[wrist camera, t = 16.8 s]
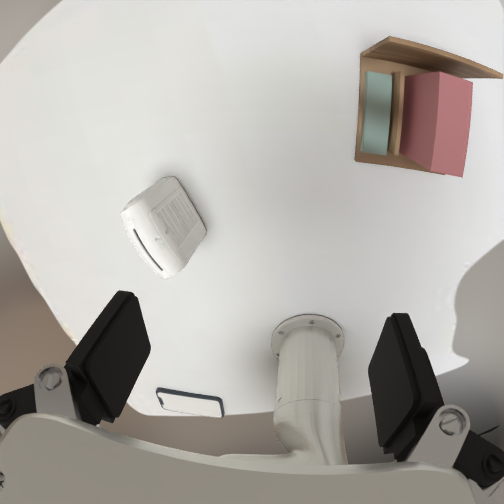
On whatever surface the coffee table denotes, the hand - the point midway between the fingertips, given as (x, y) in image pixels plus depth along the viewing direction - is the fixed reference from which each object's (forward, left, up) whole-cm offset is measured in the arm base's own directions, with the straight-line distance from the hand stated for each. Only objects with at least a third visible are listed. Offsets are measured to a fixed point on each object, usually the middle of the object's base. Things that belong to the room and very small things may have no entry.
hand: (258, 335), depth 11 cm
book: (+8, -16, -29) cm, 35 cm away
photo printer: (-7, +14, -31) cm, 34 cm away
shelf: (+8, -15, -30) cm, 35 cm away
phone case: (-55, +18, -31) cm, 66 cm away
